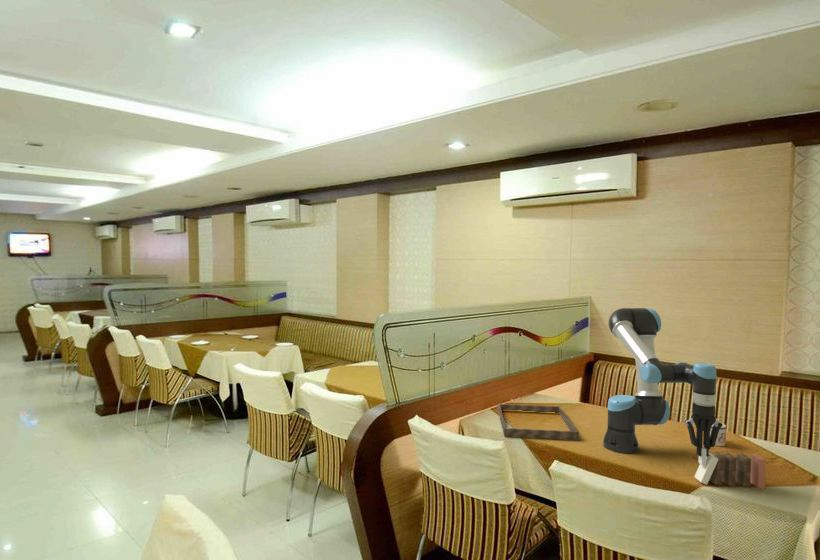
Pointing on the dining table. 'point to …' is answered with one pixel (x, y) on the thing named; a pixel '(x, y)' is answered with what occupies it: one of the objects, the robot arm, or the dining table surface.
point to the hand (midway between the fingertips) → (702, 464)
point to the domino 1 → (706, 469)
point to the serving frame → (537, 433)
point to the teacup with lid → (720, 435)
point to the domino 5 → (758, 471)
